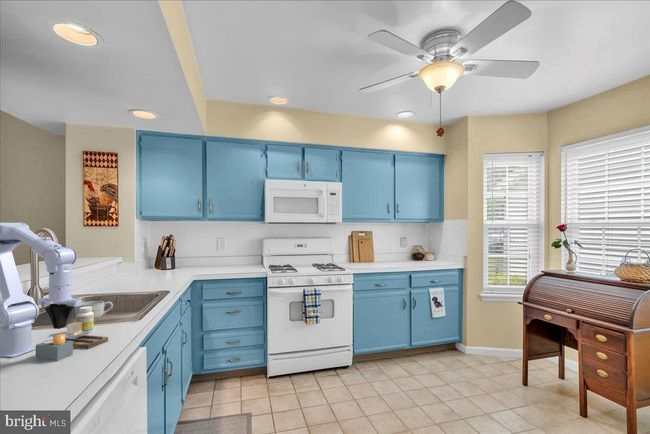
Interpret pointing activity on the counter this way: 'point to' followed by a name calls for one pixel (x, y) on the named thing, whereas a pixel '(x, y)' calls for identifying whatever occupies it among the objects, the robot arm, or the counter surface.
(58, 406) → the counter surface
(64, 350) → the gauge box
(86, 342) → the rail track
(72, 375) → the counter surface
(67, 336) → the carriage
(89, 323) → the supplement bottle
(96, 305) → the teacup
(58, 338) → the button
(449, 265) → the counter surface
